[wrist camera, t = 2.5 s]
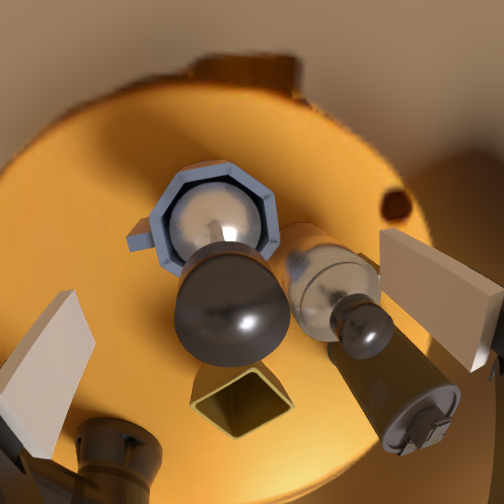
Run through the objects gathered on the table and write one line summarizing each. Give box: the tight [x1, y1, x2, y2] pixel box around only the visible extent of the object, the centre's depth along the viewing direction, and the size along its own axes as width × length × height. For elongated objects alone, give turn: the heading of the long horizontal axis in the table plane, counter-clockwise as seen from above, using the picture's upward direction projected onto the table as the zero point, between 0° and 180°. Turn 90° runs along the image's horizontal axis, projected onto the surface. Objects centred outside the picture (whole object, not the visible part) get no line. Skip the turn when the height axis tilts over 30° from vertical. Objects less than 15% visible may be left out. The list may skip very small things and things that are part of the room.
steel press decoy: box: [267, 222, 394, 360], centre depth 29 cm, size 10×8×18 cm
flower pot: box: [190, 360, 295, 440], centre depth 37 cm, size 9×9×9 cm
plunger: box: [170, 182, 290, 367], centre depth 17 cm, size 7×7×14 cm
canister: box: [328, 325, 461, 456], centre depth 34 cm, size 11×10×20 cm
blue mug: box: [126, 159, 281, 278], centre depth 28 cm, size 11×9×12 cm
